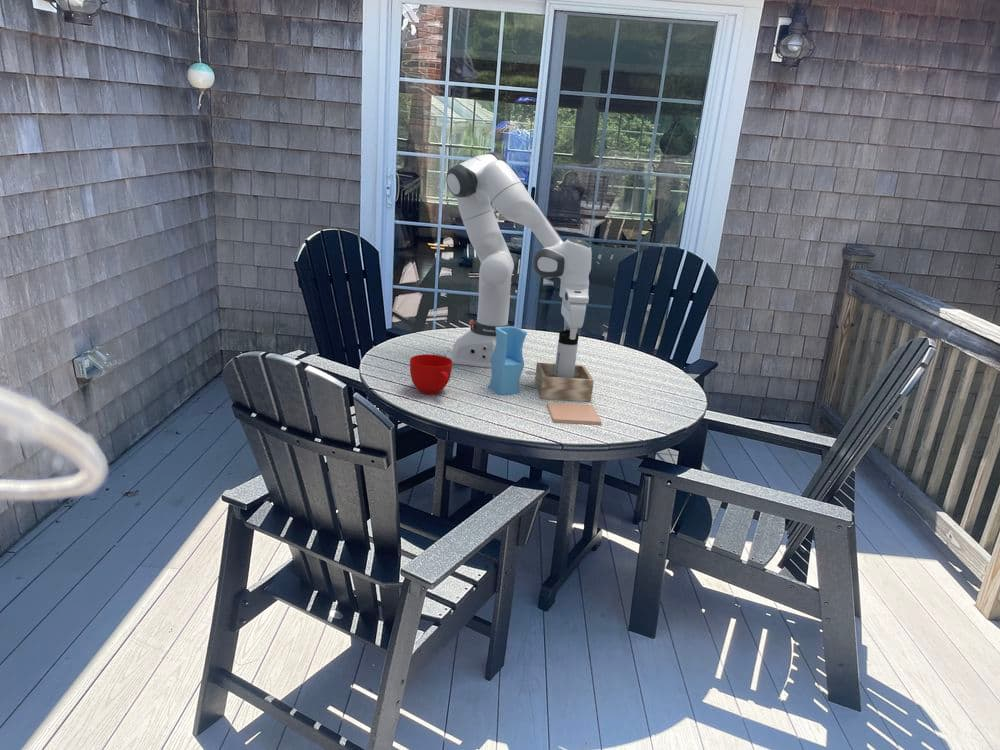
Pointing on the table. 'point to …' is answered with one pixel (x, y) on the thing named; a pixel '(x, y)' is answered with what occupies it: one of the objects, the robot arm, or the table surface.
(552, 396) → the frame
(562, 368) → the travel mug
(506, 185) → the robot arm
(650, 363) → the table surface
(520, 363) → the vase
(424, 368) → the ceramic cup
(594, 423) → the terracotta tile
